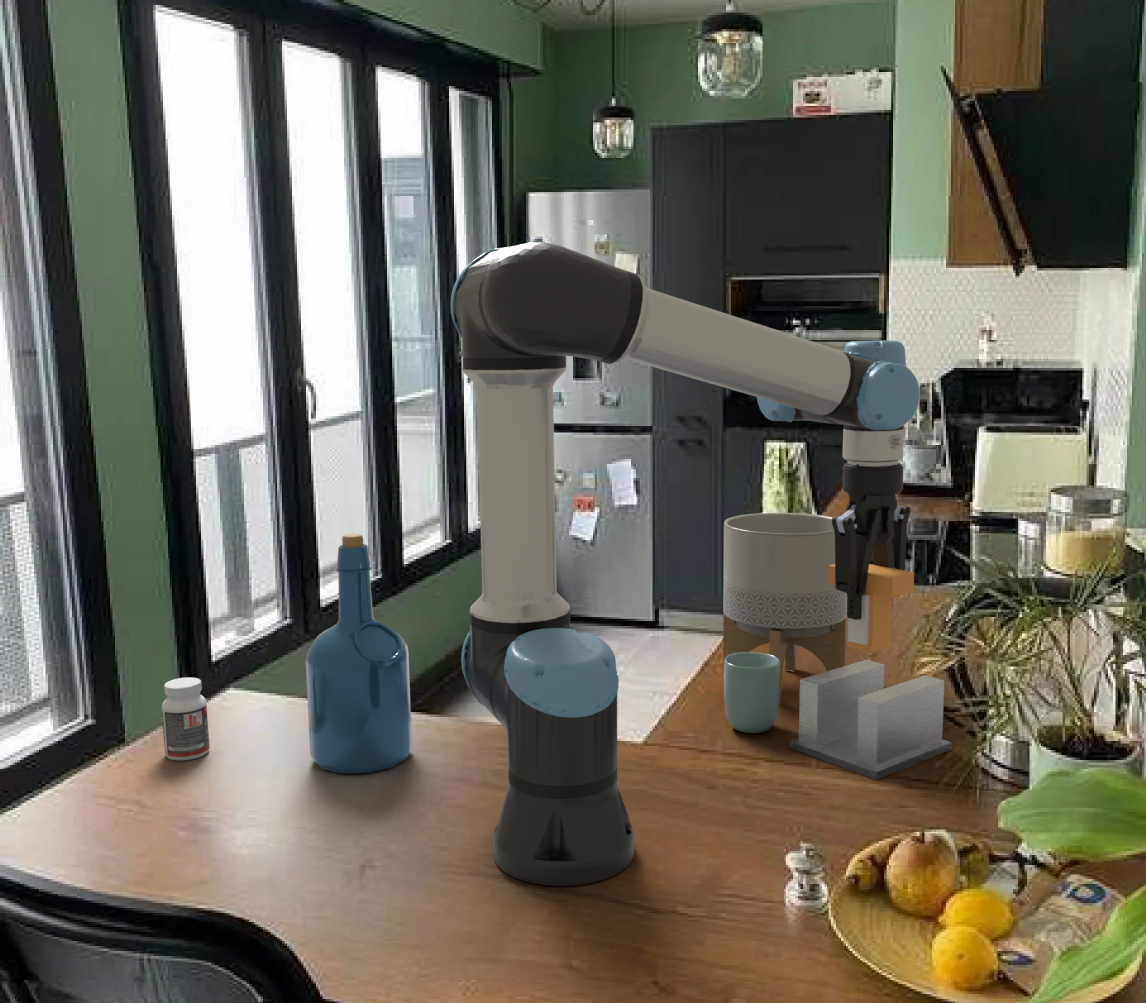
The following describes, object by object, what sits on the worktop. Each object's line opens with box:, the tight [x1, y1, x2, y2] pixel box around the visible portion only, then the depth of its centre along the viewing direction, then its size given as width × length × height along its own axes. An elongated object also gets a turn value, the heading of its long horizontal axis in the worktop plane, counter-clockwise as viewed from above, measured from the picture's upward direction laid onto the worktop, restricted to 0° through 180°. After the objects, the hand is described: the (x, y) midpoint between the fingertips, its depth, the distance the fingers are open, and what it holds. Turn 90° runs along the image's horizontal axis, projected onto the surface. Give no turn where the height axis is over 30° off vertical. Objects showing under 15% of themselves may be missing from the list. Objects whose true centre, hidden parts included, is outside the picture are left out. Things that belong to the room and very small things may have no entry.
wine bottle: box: [305, 533, 413, 774], centre depth 148 cm, size 14×13×30 cm
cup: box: [723, 651, 780, 734], centre depth 158 cm, size 8×8×10 cm
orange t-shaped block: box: [829, 563, 915, 654], centre depth 148 cm, size 4×10×10 cm, turn 38°
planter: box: [722, 512, 848, 705], centre depth 176 cm, size 19×19×26 cm
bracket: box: [788, 659, 952, 781], centre depth 150 cm, size 16×14×10 cm
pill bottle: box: [161, 677, 210, 762], centre depth 151 cm, size 6×6×10 cm
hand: (869, 638), depth 149 cm, fingers closed on orange t-shaped block, 4 cm apart
